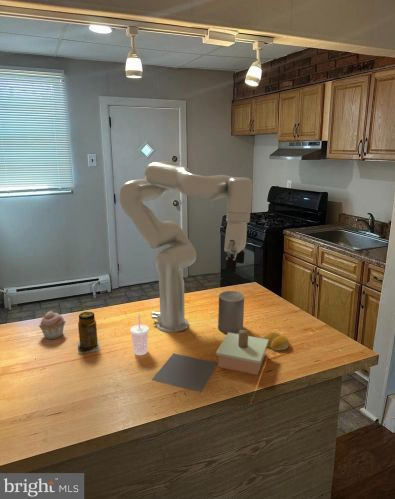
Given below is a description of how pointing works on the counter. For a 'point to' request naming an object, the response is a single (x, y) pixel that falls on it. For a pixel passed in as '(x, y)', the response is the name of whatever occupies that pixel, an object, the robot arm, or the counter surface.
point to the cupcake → (52, 325)
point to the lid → (243, 347)
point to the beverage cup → (139, 338)
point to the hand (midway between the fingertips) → (235, 267)
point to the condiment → (87, 333)
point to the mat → (186, 372)
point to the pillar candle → (231, 312)
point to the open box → (240, 365)
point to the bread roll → (276, 341)
